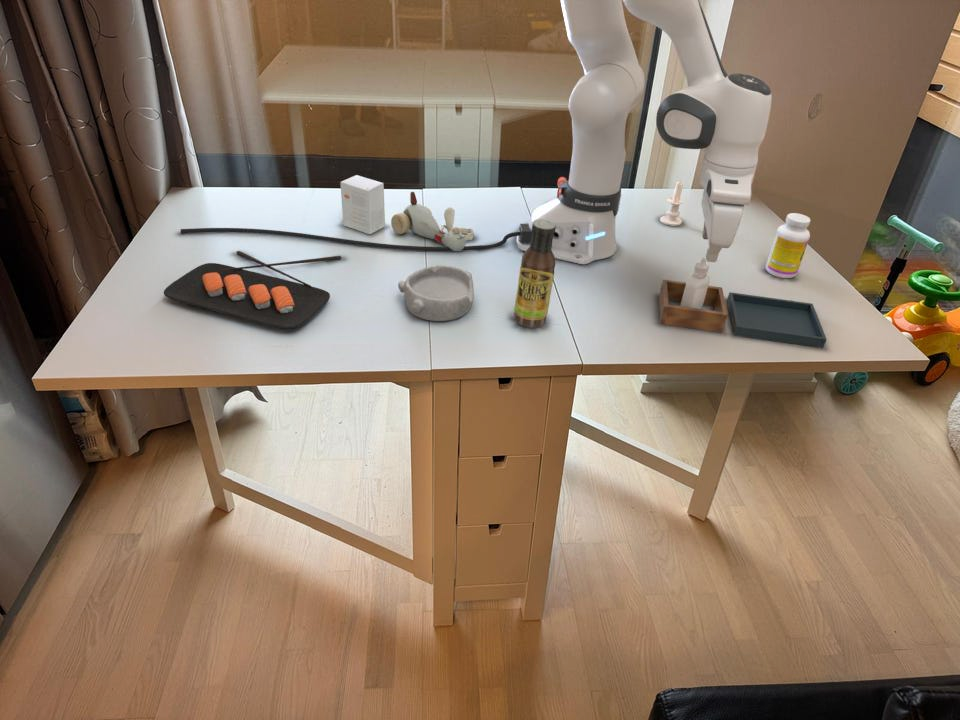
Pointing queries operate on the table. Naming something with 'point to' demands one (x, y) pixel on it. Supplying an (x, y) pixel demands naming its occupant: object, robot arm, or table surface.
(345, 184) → the small box
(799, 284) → the table surface
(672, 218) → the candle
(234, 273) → the sushi plate
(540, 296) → the sauce bottle
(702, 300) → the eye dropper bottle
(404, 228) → the toy dog
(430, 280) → the dish
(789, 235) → the supplement bottle
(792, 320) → the tray
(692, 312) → the crate
